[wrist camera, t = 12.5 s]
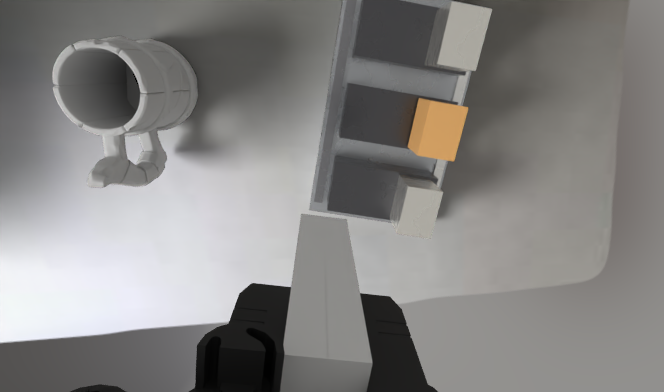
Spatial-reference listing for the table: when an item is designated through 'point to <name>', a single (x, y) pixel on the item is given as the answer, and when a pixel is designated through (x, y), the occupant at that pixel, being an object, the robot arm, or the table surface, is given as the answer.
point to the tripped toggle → (437, 129)
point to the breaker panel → (392, 106)
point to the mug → (125, 101)
